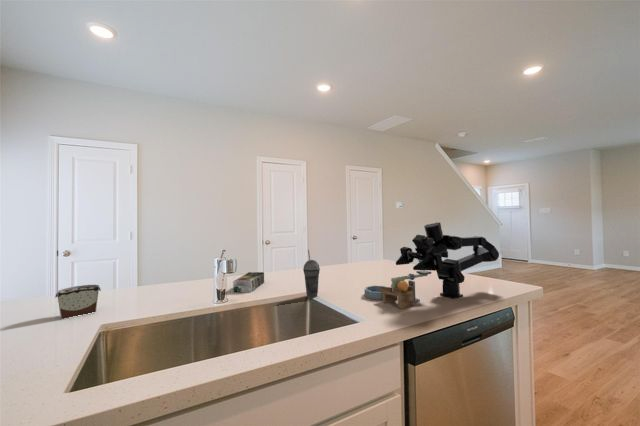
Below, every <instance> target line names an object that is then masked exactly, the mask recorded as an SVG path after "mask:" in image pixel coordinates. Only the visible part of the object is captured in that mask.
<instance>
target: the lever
mask: <svg viewBox="0 0 640 426" xmlns="http://www.w3.org/2000/svg"><path fill="white" fill-rule="evenodd" d="M415 271H416V274H414V273H412V272H411V273H408V275H403V276H398V277H392V278H391V279H390V281H391V285H392V291H393V288H397V284H398V282H400V281H406V280H411V281H414V280H415V279H417V278H423V277H428V275H431V274H432V271H431V270H415Z"/></svg>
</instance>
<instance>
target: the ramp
mask: <svg viewBox="0 0 640 426" xmlns="http://www.w3.org/2000/svg"><path fill="white" fill-rule="evenodd" d="M380 286H381V287H380V293H382V294H383V300H382V302H383V303H389V302H393V301H394V302H395V301H397V307H398V309H406V308H410V307H414V306H415V303H414V295H413V291H414V290H413V286H409V285H408V290H407V291H405V292H402V289H400V288H393V291H392V284H390V286H385V287H383V286H384V285H380Z"/></svg>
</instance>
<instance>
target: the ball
mask: <svg viewBox="0 0 640 426" xmlns="http://www.w3.org/2000/svg"><path fill="white" fill-rule="evenodd" d="M407 282H408V281H407ZM407 282H406V280H404V281H400V282H398V284H397V288H400V289H402V292H405V291H407V290H408V286H409V285H408V283H407Z"/></svg>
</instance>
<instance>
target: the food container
mask: <svg viewBox="0 0 640 426" xmlns="http://www.w3.org/2000/svg"><path fill="white" fill-rule="evenodd" d="M100 291H101V287H100V285H99V284H83V285H75V286H71V287H66V288H62V289H60V290H58V291H56V293H55V296H54V298H57V302H58V309H59V315H60V320H61V319H63V320H65V319H64V318H68V319H70V318H69V317H73V316H77V317H79V316H78V315H82V316H84V315H83V314H87V315H89V314H88V313H92V312H96V313H97V307H98V299H99V298H98V297H99V292H100ZM92 314H93V313H92ZM73 318H74V317H73Z"/></svg>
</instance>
